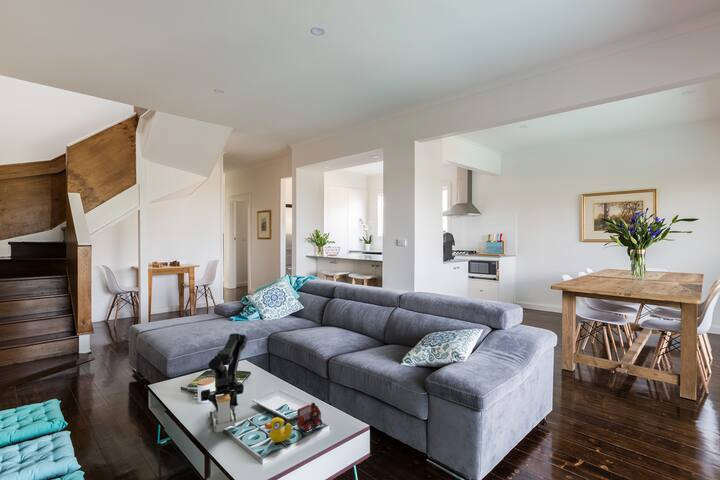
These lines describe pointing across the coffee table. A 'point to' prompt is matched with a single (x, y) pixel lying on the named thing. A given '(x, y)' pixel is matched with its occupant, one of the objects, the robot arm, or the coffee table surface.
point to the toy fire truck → (309, 417)
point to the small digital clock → (221, 426)
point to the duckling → (278, 430)
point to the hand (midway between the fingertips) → (223, 410)
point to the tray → (280, 401)
